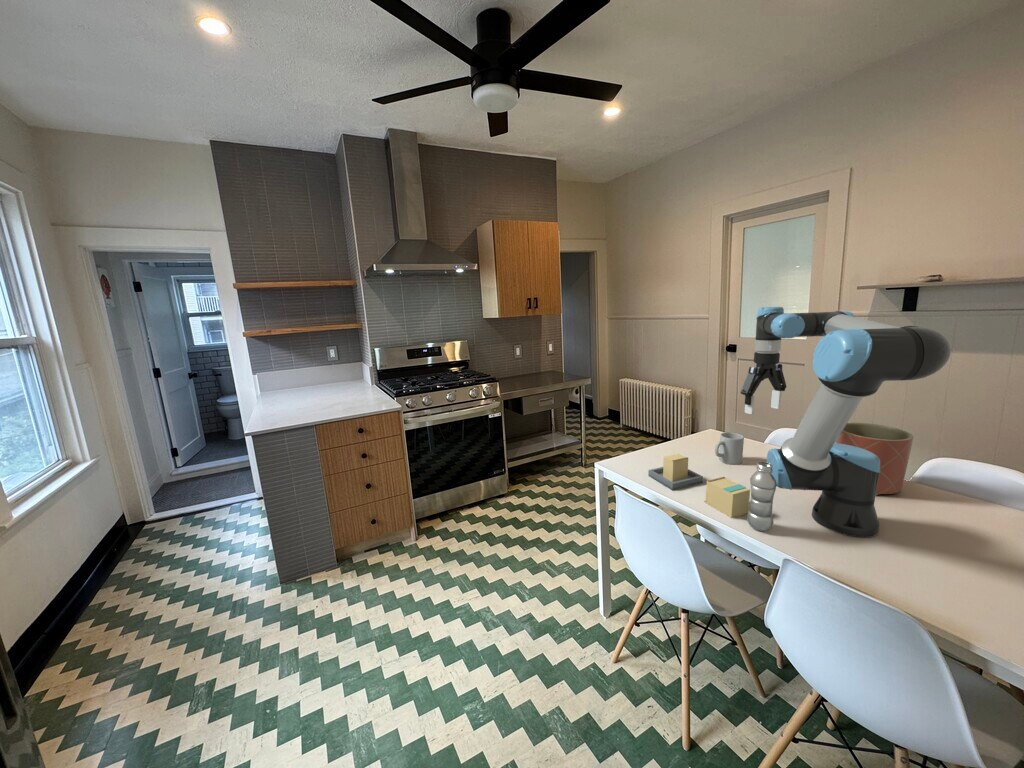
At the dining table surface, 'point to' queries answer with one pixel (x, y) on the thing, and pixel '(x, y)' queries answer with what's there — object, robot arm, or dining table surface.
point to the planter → (882, 451)
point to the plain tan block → (675, 467)
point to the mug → (730, 448)
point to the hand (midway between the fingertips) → (762, 410)
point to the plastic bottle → (762, 497)
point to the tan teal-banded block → (727, 496)
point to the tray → (691, 480)
